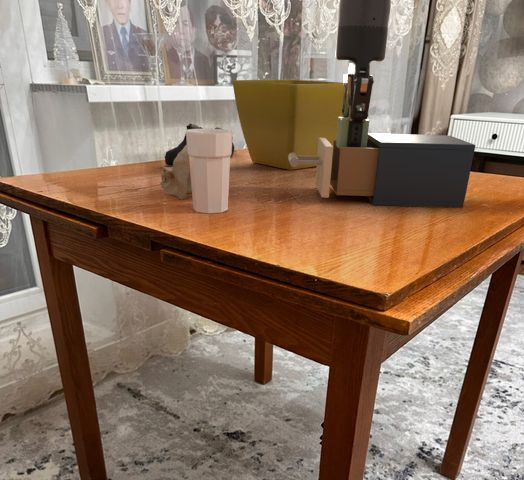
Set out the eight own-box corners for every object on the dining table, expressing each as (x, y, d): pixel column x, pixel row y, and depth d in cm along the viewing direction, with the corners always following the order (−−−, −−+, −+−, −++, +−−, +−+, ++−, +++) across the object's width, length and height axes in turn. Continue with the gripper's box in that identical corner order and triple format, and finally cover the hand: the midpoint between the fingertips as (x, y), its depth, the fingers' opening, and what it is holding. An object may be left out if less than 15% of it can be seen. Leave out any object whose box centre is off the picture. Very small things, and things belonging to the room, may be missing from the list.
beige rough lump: (167, 177, 95) (191, 127, 89) (197, 199, 95) (223, 150, 89) (143, 189, 88) (167, 136, 82) (175, 213, 88) (202, 161, 82)
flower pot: (289, 174, 110) (294, 82, 102) (230, 161, 122) (230, 78, 114) (349, 166, 121) (357, 83, 113) (289, 155, 134) (293, 79, 126)
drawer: (288, 196, 87) (291, 145, 83) (286, 183, 97) (288, 136, 93) (404, 199, 87) (412, 148, 84) (390, 186, 97) (396, 139, 94)
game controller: (231, 186, 110) (248, 139, 109) (207, 173, 105) (225, 123, 104) (183, 174, 121) (199, 131, 119) (160, 162, 115) (176, 116, 114)
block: (361, 146, 91) (364, 117, 89) (366, 149, 87) (369, 120, 85) (335, 145, 91) (338, 117, 89) (339, 149, 87) (341, 119, 85)
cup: (234, 205, 84) (234, 129, 79) (230, 215, 79) (230, 134, 73) (192, 203, 85) (189, 127, 79) (185, 213, 79) (181, 132, 74)
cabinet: (373, 205, 87) (380, 142, 83) (360, 189, 98) (366, 133, 94) (463, 208, 87) (475, 144, 83) (440, 191, 98) (450, 135, 94)
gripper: (398, 22, 74) (382, 153, 82) (378, 28, 87) (366, 141, 95) (344, 20, 74) (333, 151, 82) (332, 27, 87) (323, 140, 95)
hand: (351, 145), depth 89 cm, fingers closed on block, 4 cm apart
